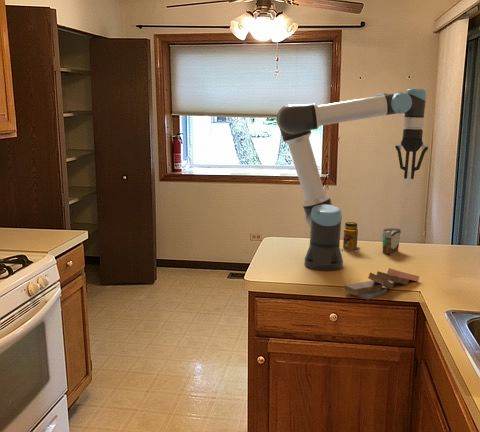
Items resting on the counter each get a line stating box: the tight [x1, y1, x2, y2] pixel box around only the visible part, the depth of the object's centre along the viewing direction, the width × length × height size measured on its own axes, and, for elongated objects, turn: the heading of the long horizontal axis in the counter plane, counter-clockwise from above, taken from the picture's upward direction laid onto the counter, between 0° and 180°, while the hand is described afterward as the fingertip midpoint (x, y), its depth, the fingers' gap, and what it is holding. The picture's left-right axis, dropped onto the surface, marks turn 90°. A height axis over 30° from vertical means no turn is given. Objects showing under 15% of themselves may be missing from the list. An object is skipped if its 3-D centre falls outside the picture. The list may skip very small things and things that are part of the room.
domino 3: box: [354, 286, 388, 301], centre depth 180 cm, size 2×5×12 cm
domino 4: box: [376, 270, 410, 286], centre depth 188 cm, size 2×5×12 cm
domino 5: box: [387, 267, 420, 283], centre depth 192 cm, size 2×5×12 cm
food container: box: [381, 227, 402, 257], centre depth 232 cm, size 12×6×10 cm, turn 144°
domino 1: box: [343, 280, 383, 296], centre depth 179 cm, size 2×5×12 cm
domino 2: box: [367, 272, 395, 290], centre depth 181 cm, size 2×5×12 cm
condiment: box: [340, 221, 361, 253], centre depth 236 cm, size 7×8×12 cm
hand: (408, 186), depth 218 cm, fingers closed
